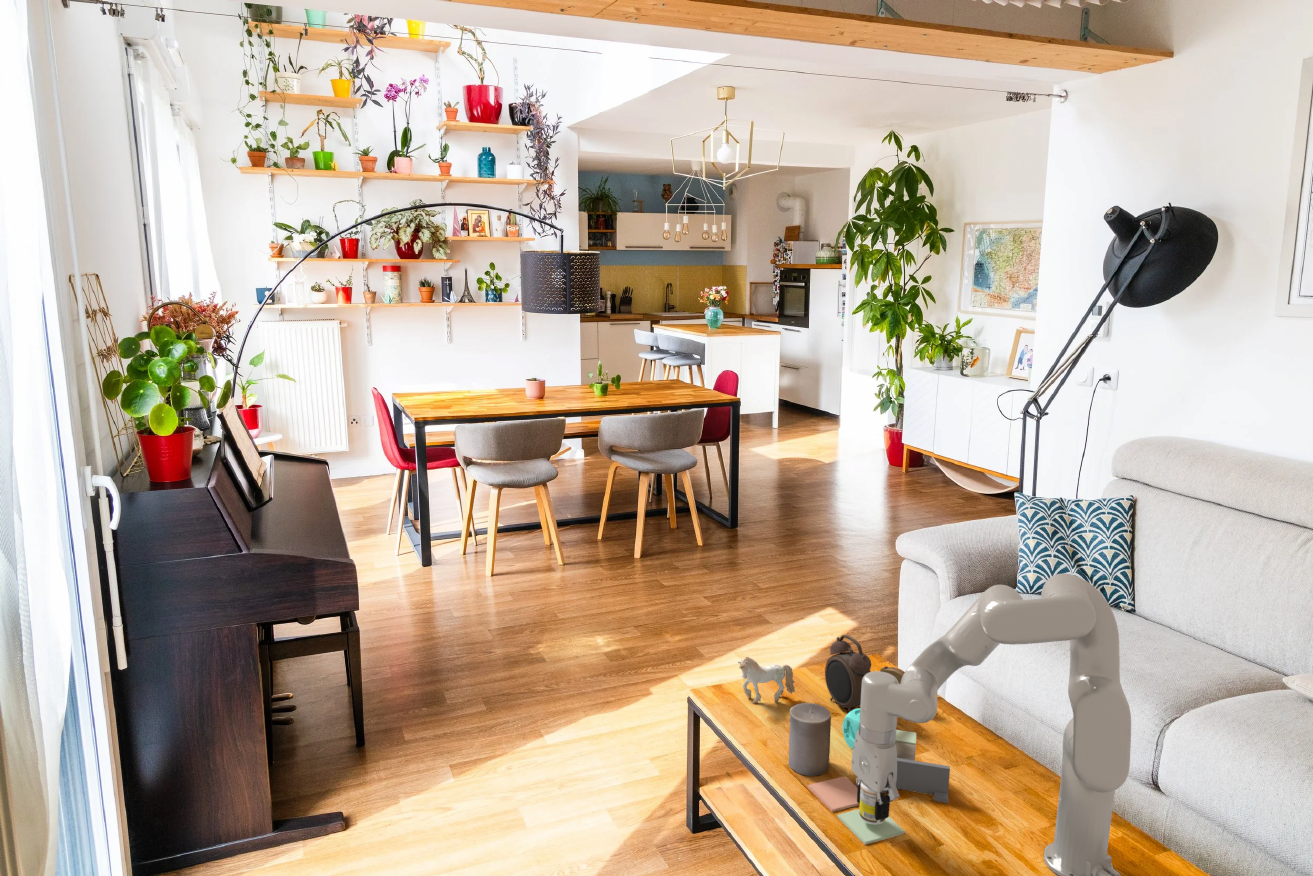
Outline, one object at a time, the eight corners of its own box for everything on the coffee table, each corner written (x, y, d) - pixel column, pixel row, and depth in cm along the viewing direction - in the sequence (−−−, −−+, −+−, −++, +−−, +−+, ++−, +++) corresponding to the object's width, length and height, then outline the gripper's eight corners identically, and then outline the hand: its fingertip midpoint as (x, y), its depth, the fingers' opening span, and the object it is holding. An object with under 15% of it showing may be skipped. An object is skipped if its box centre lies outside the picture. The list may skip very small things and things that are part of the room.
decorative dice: (857, 756, 216) (859, 725, 214) (841, 739, 223) (842, 710, 222) (886, 751, 218) (888, 721, 217) (868, 735, 226) (870, 706, 224)
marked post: (913, 771, 209) (916, 732, 207) (913, 783, 205) (916, 743, 203) (891, 768, 211) (894, 729, 209) (890, 779, 206) (893, 740, 204)
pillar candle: (830, 758, 215) (833, 700, 212) (827, 779, 205) (829, 719, 203) (790, 752, 217) (792, 695, 215) (785, 773, 208) (787, 714, 205)
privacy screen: (947, 788, 203) (949, 760, 201) (947, 803, 197) (950, 774, 196) (857, 773, 208) (859, 746, 207) (856, 787, 202) (858, 759, 201)
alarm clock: (819, 698, 245) (822, 630, 241) (840, 693, 248) (844, 626, 244) (851, 722, 232) (856, 651, 228) (873, 717, 235) (878, 646, 231)
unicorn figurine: (723, 702, 241) (724, 657, 239) (781, 688, 250) (783, 643, 248) (737, 714, 235) (739, 667, 233) (796, 699, 244) (799, 653, 242)
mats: (904, 833, 186) (904, 831, 186) (864, 844, 182) (865, 842, 182) (844, 778, 206) (844, 776, 206) (807, 787, 202) (807, 785, 202)
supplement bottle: (880, 809, 191) (882, 766, 189) (889, 825, 186) (892, 781, 184) (855, 811, 191) (857, 767, 189) (864, 827, 185) (866, 782, 183)
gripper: (838, 715, 191) (834, 792, 194) (887, 755, 175) (882, 837, 179) (867, 709, 194) (863, 785, 197) (918, 748, 178) (912, 829, 181)
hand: (872, 809), depth 188 cm, fingers closed on supplement bottle, 5 cm apart
